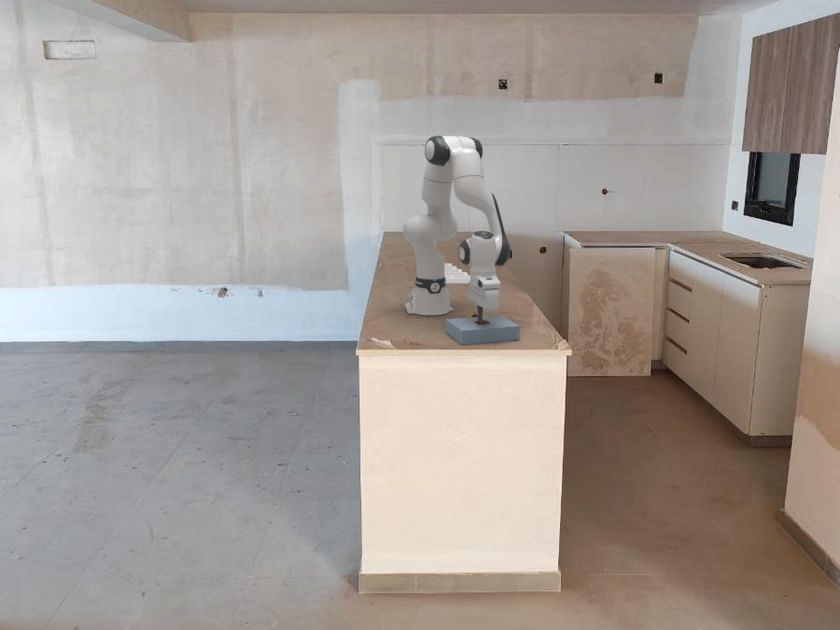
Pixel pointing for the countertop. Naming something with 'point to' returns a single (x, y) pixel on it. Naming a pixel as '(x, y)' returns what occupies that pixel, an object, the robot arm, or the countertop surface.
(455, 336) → the socket block
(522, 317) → the countertop surface
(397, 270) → the countertop surface
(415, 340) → the countertop surface
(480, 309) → the peg
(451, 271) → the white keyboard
